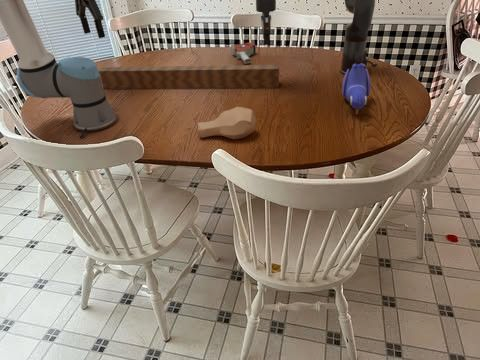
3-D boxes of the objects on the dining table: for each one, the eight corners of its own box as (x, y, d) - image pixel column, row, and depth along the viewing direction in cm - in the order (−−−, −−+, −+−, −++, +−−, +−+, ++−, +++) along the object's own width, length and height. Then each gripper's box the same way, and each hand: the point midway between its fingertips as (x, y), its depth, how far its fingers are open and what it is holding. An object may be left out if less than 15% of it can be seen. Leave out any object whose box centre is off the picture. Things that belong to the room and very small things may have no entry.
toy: (340, 103, 144) (343, 119, 122) (342, 60, 138) (346, 69, 115) (366, 103, 142) (373, 119, 120) (369, 59, 135) (378, 68, 113)
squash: (259, 140, 116) (255, 118, 110) (200, 150, 118) (193, 129, 112) (256, 120, 124) (253, 99, 117) (201, 130, 126) (194, 109, 119)
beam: (104, 88, 161) (98, 71, 156) (108, 84, 165) (103, 67, 160) (278, 87, 151) (278, 68, 146) (278, 83, 155) (279, 64, 150)
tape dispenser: (247, 68, 177) (266, 54, 190) (247, 57, 174) (266, 44, 186) (218, 62, 185) (238, 48, 197) (217, 52, 181) (238, 39, 194)
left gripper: (102, -20, 139) (116, 37, 151) (75, -23, 154) (89, 29, 166) (84, -17, 135) (100, 41, 147) (57, -20, 149) (74, 33, 162)
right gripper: (277, -1, 127) (276, 46, 137) (274, -7, 139) (274, 36, 148) (256, 1, 128) (257, 47, 137) (255, -6, 139) (256, 37, 149)
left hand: (94, 35), depth 157 cm, fingers open, 13 cm apart
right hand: (266, 41), depth 143 cm, fingers open, 8 cm apart
